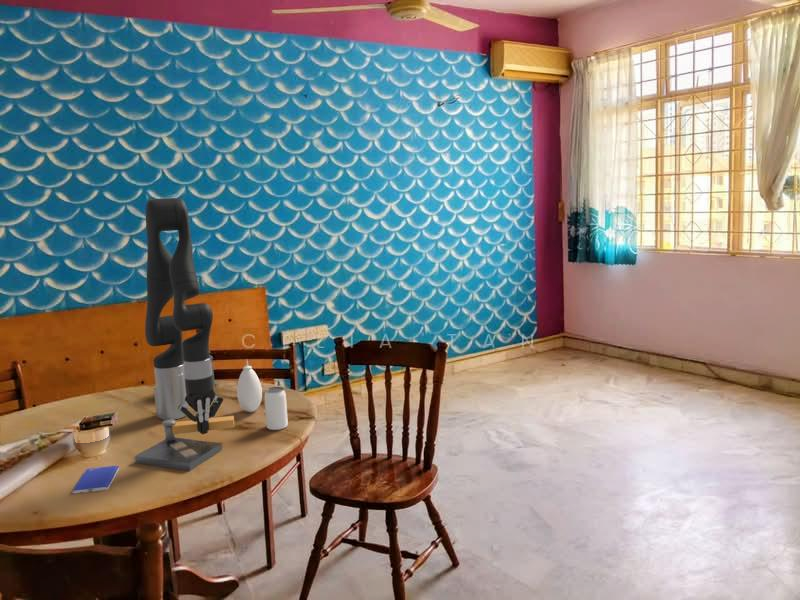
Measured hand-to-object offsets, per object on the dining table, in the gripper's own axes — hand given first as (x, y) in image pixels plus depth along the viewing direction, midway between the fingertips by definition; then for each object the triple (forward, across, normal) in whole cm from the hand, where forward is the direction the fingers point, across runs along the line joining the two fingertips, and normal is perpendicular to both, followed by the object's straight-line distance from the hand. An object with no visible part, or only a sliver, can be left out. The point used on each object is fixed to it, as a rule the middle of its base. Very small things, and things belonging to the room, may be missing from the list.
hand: (203, 433), depth 184 cm
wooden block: (+2, 0, +4) cm, 5 cm away
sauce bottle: (+5, +24, +18) cm, 31 cm away
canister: (+5, +21, +55) cm, 59 cm away
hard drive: (+5, -29, 0) cm, 30 cm away
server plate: (+4, -8, 0) cm, 9 cm away
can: (+5, +23, 0) cm, 24 cm away
